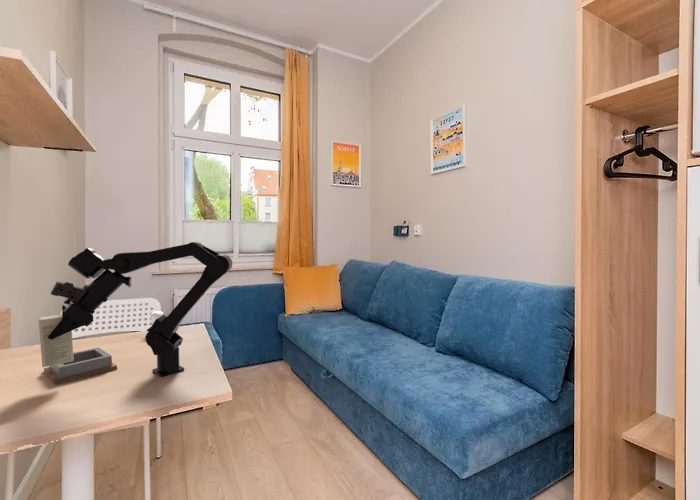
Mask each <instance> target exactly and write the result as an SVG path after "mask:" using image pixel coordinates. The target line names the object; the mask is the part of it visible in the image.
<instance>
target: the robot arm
mask: <svg viewBox="0 0 700 500" xmlns="http://www.w3.org/2000/svg"><path fill="white" fill-rule="evenodd" d="M186 257H193V258H195V259H196V260H197V261H198V262H200V263H201V264H202V265H203V266H205V268H204V269H203V271H202V273H201V276H200V278H199V279H198V280H197V281H196V282H195V284H194V285H193V286H192V287H191V288H190V289H189V290H188V292H186V293H185V295H184V296H183V298H182V299H181V300H180V301H179V302H178V303H177V305H176V306H175V307H174V308H173V309H172V310H171V312H170V313H169V314H168V315H165V313H164V314H163V315H162V316H160V317H159V318H157V319H156V320H155V322H154V323H153V325H152V324H151V326H150V327H149V328H147V329H146V332H147V333H146V334H145V337H144V339H145V342H146V345H148V346H149V347H150V349H151V352H152V353H153V355H154V356H156V365H157V366H156V368H153V369H152V372H153V373H155V374H156V375H158V376H159V377H165V376H168V375H169V376H170V375H172V374H175V373H178V372H182V371H184V370H185V367H183V366H182V365H180V348H179V347H180V346H181V345H182V343H183V339H184V338H183V337H182V336H181V335H179V333H177V331H178V330H179V327H180V325H181V323H182V321H183V320H184V318H185V317H186V316H187V315H188V314H189V312H191V310H193V309H194V307H195V305H197V304H198V302H199V301H200V300H201V298H203V296H204V295H205V294H206V292H208V291H209V289H210V288H211V286H213V284H215V283H216V282H218V281H219V280H220V279H221V278H222V277H224V275H226V274H227V273H228V272H229V271H231V269H232V268H233V260H232V258H231V257H230V256H229V255H227V254H224V253H222V254H220V253H218V252H217V251H215V250H213V249H211V248H209V247H207V246H205V245H203V244H202V243H201V242H199V241H192V242H188V243H186V244H180V245H175V246H170V247H165V248H159V249H155V250H150V251H129V252H128V251H127V252H121V253H116V254H114V255H113V256H112V258H106V259H105V258H104V257H103V256H101V255H100V254H98V253H97V252H96V251H95V250H94V249H93V248H91V247H86V248H84V250H83V251H81V252H79V253H78V254H76V255H75V256H73V257H71V259H70V260H69V261H68V264H67V265H68V267H70V268H71V269H72V270H74V271H75V272H77V273H78V274H79V275H81V276H82V277H84V278H85V279H91V278H92V279H94V280H93V281H92V282H90V283H89V284H85V285H84V286H83V287H79V286H76V285H74V283H71V282H69V281H66V282H63V281H62V282H61V281H58V280H57V281H56V282H55V284H54V286H53V288H52V290H51V291H50V295H52V296H55V297H63V298H66V299H65V300H63V304H62V307H61V315H62V319H61V321H60V322H59V323H58V324H57V326H56V327H55V328H54V329H53V331H52V332H51V333H50V334H49V336H48V338H49V339H51V340H52V339H54V338H56V337H59V336H61V335H63V334H65V333H67V332H70V331H72V332H73V331H74V330H76V329H79V328H81V327H84V326H85V327H88V326H90V324H92V323H93V322H94V313H96V310H97V309H98V308H99V307H100V306H101V305H102V304H104V303H106V302H108V301H109V299H108V298H110V296H112V295H113V294H114V292H116V291H117V290H118V289H119V288H120V287H122V285H125V286H127V287H128V288H131V287H132V277H131V276H125V275H124V274H128V273H129V274H130V273H134V272H136V271H139V270H142V269H145V268H146V267H149V266H151V265H154V264H158V263H162V262H167V261H172V260H177V259H182V258H186ZM111 270H113V271H111ZM64 304H65V305H64Z"/></svg>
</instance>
